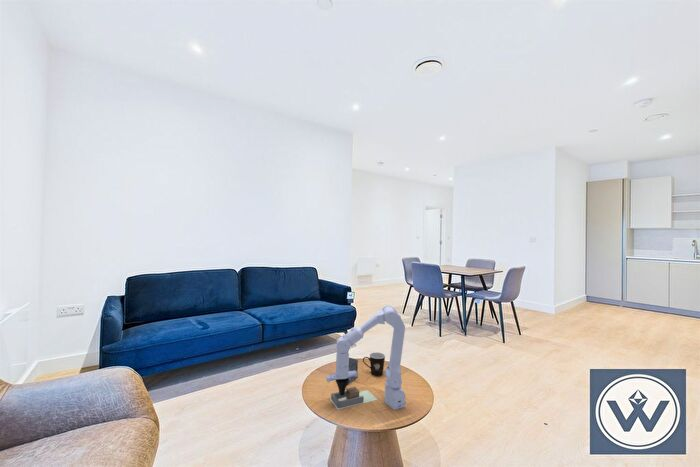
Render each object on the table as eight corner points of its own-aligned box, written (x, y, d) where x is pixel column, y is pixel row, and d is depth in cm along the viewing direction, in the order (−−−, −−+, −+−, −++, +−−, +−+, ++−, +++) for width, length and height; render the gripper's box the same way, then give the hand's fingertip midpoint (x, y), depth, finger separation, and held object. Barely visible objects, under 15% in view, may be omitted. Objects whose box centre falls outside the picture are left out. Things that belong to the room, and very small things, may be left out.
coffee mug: (387, 372, 168) (387, 354, 168) (380, 378, 161) (380, 360, 161) (369, 367, 174) (369, 350, 174) (361, 372, 167) (362, 355, 167)
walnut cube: (359, 400, 137) (359, 391, 137) (350, 403, 135) (350, 393, 135) (354, 395, 141) (355, 386, 141) (346, 398, 139) (346, 388, 139)
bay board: (377, 401, 138) (377, 394, 138) (337, 411, 130) (337, 403, 130) (367, 392, 147) (367, 384, 147) (329, 400, 138) (329, 393, 138)
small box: (347, 375, 163) (348, 356, 163) (358, 379, 160) (358, 359, 160) (337, 383, 154) (337, 363, 154) (347, 387, 151) (348, 366, 151)
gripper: (352, 358, 142) (352, 387, 142) (324, 363, 136) (323, 393, 136) (359, 364, 136) (358, 394, 136) (330, 370, 130) (329, 401, 130)
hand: (341, 394), depth 136 cm, fingers closed
